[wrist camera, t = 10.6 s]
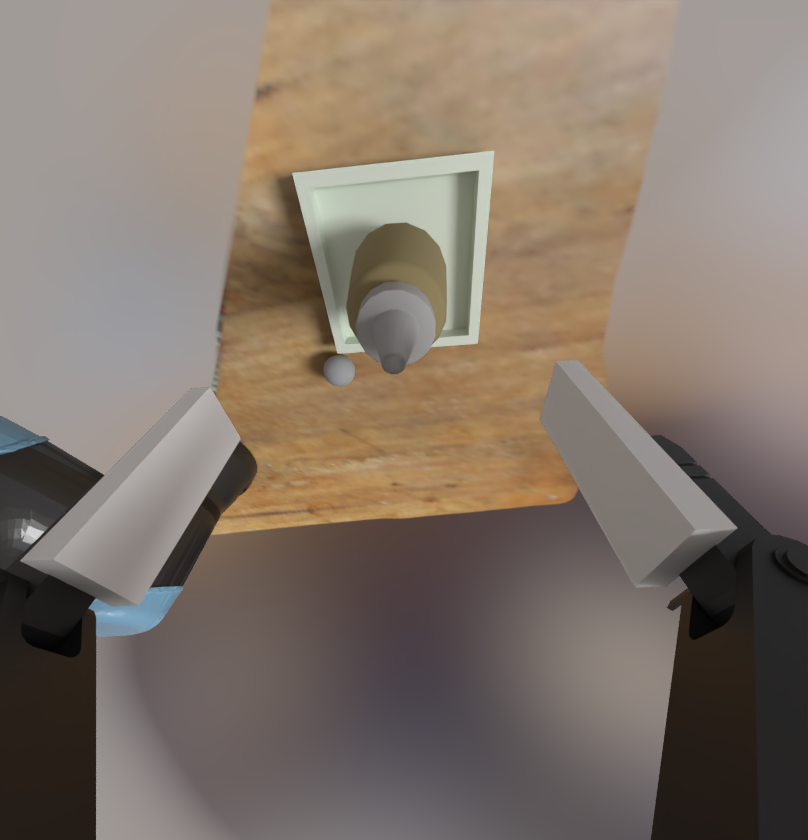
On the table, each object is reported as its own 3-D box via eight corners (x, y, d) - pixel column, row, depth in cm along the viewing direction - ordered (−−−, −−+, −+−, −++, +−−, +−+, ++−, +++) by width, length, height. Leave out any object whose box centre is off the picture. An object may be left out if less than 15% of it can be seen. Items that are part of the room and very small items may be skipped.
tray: (341, 343, 34) (337, 353, 32) (301, 173, 24) (292, 173, 22) (473, 333, 33) (477, 343, 31) (487, 152, 23) (494, 150, 21)
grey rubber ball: (330, 376, 37) (324, 393, 34) (323, 350, 34) (316, 365, 31) (359, 374, 36) (355, 391, 34) (353, 348, 34) (349, 363, 31)
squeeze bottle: (343, 283, 29) (286, 387, 15) (382, 193, 24) (350, 226, 10) (413, 324, 31) (419, 445, 18) (460, 250, 27) (517, 336, 13)
